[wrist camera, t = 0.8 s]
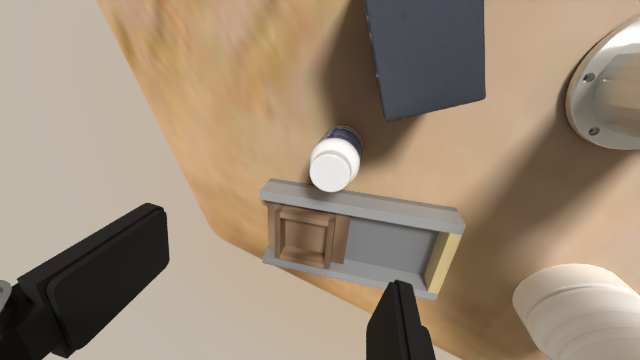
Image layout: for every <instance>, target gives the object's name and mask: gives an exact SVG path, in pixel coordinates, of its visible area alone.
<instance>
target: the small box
mask: <svg viewBox="0 0 640 360" xmlns="http://www.w3.org/2000/svg"><path fill="white" fill-rule="evenodd" d="M363 1H364V7H365V13H366V19H367V25H368V30H369V36H370V42H371V48H372V53H373V60H374V65H375V71H376V77H377V82H378V88H379V93H380V98H381V103H382V108H383V113H384V118H385V121H387V122H389V121H394V120H399V119H402V118H407V117H411V116H415V115H420V114H424V113H428V112H433V111H437V110H441V109H447V108H450V107H455V106H458V105H463V104H468V103H471V102H476V101H480V100H483V99H485V97H486V91H485V42H484V39H485V36H484V0H363Z"/></svg>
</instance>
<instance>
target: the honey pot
mask: <svg viewBox="0 0 640 360" xmlns="http://www.w3.org/2000/svg"><path fill="white" fill-rule="evenodd" d="M512 301H513V307H514V308H515V310H516V312H517V314H518V315H519V317H520V319H521V320H522V322H523V324H524V326H525V327H526V329H527V331H528V332H529V334H530V336H531V338H532V339H533V341H534V343H535V344H536V346H537V347H538V348H539V350H540V351H542V352H543V353H544V354H545V355H546V356H547V357H549V358H550V359H551V360H640V295H638V294H637V293H636V292H635V291H634V290H633V289H631V288H630V287H629V286H628V285H627V284H626V283H624V282H623V281H622V280H621V279H620V278H619V277H617V276H616V275H615V274H614V273H612V272H610V271H608V270H606V269H604V268H601V267H597V266H592V265H588V264H563V265H556V266H552V267H548V268H545V269H542V270H539V271H537V272H535V273H533V274H531V275H529V276H528V277H527V278H525V279H524V280H523V281H522V282H520V284H519V285H518V286H517V288H516V289H515V291H514V294H513V297H512Z"/></svg>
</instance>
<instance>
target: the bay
mask: <svg viewBox="0 0 640 360" xmlns="http://www.w3.org/2000/svg"><path fill="white" fill-rule="evenodd" d="M260 200H266V201H272V202H277V203H283V204H289V205H294V206H300V207H306V208H311V209H317V210H322V211H328V212H334V213H339V214H345V215H351V218H350V225H349V231H348V238H347V244H346V251H345V257H344V263H343V264H339V263H334V262H331V263H330V267H329V269H324V268H319V267H315V266H310V265H305V264H301V263H296V262H291V261H287V260H282V259H278V258H275V250H272V249H269V246H268V248H267V249H266V251H265V253H264V254H263V256H262V257H263V263H266V264H270V265H275V266H279V267H284V268H288V269H293V270H297V271H302V272H306V273H311V274H315V275H320V276H324V277H329V278H334V279H338V280H343V281H347V282H352V283H356V284H361V285H365V286H370V287H374V288H379V289H383V290H385V289H386V288H387V286H388V284H389V282H394V281H395V280H396V279H397V280H400V281H404V282H407V283H410V284H412V286H413V290H414V294H415V297H419V298H424V299H428V300H433V301H436V298H437V296H438V294H439V291H440V289H441V286H442V284H443V281H444V279H445V277H446V274H447V272H448V269H449V267H450V264H451V262H452V259H453V257H454V255H455V252H456V250H457V247H458V245H459V242H460V240H461V238H462V235H463V233H464V230H465V228H466V224H465V223H464V221H463V219H462V218H461V216H460V214H459V212H458V211H457V209H456V208H451V207H445V206H439V205H432V204H426V203H420V202H414V201H408V200H401V199H395V198H389V197H383V196H376V195H370V194H364V193H358V192H352V191H345V190H339V191H336V192H326V191H323V190H321V189H319V188H318V187H316V186H314V185H308V184H302V183H296V182H290V181H283V180H277V179H270V180H269V181H268V182H267V184H266V185H265V186H264V187H263V188H262V189H261V190H260Z"/></svg>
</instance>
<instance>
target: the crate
mask: <svg viewBox="0 0 640 360" xmlns="http://www.w3.org/2000/svg"><path fill="white" fill-rule="evenodd" d="M350 218H351V215H345V214H339V213H334V212H328V211H322V210H317V209H311V208H306V207H300V206H294V205H289V204H283V203H277V202H272V201H268V229H269V249H272V250H275V258H278V259H282V260H287V261H291V262H296V263H301V264H305V265H310V266H315V267H319V268H324V269H329V267H330V263H331V262H334V263H339V264H343V263H344V257H345V251H346V244H347V238H348V231H349V225H350Z"/></svg>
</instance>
